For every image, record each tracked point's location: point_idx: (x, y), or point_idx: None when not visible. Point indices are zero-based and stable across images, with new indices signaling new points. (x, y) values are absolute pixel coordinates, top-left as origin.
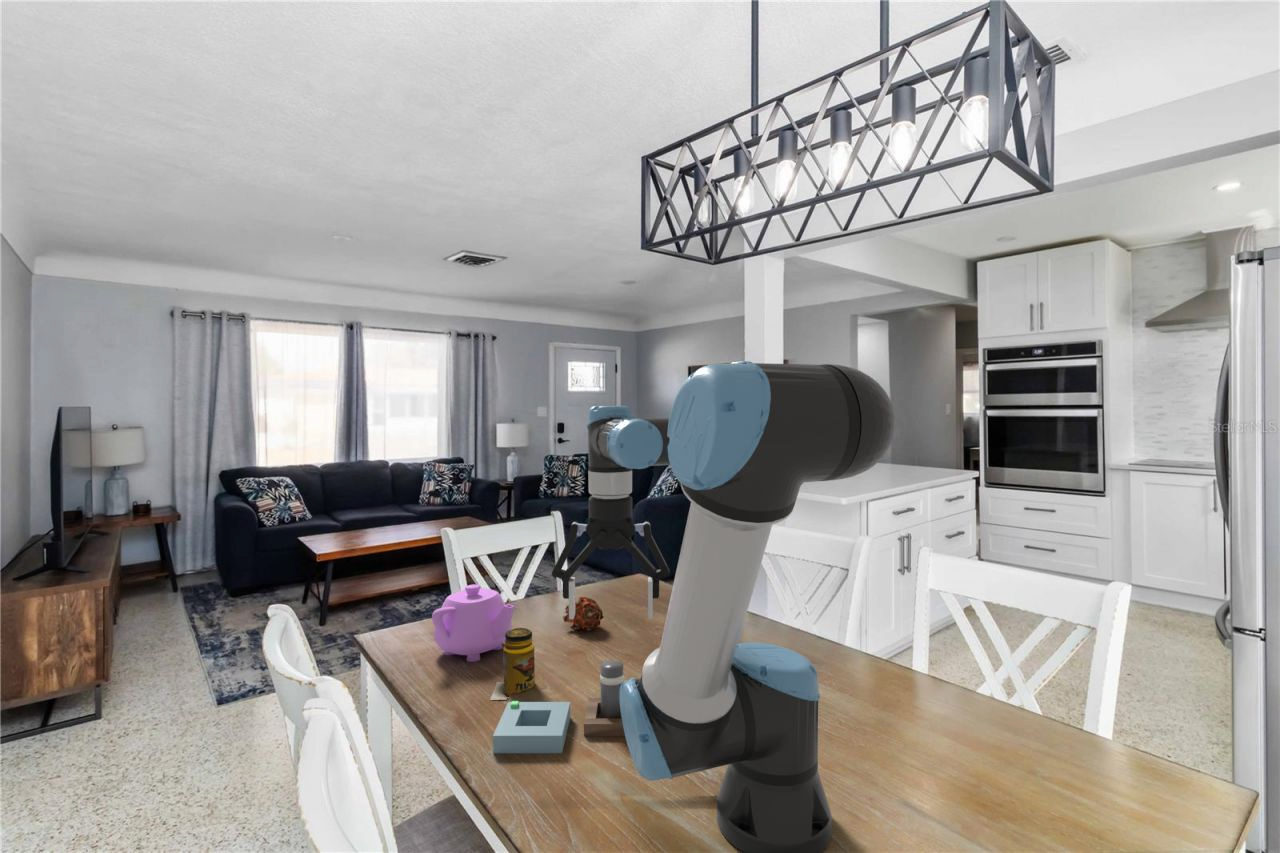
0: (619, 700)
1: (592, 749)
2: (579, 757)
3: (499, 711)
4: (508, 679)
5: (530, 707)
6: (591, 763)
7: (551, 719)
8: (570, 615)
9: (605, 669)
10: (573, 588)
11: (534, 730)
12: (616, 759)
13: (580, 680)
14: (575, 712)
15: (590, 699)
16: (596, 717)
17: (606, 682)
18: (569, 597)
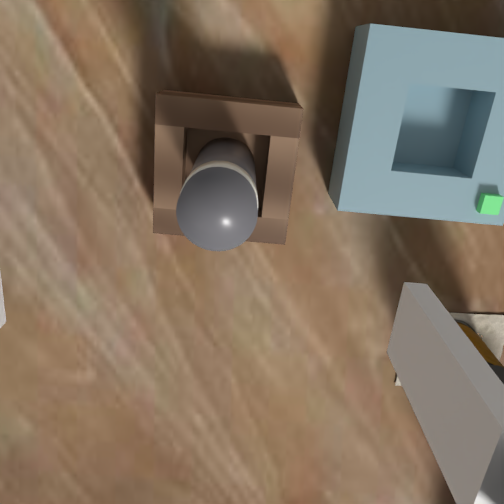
0: (201, 157)
1: (278, 70)
2: (312, 36)
3: (493, 266)
4: (488, 349)
5: (446, 190)
6: (283, 3)
7: (394, 119)
8: (426, 292)
9: (240, 182)
10: (469, 400)
11: (444, 61)
12: (219, 15)
13: (296, 384)
14: (313, 245)
15: (280, 237)
16: (266, 165)
17: (238, 167)
18: (474, 351)
